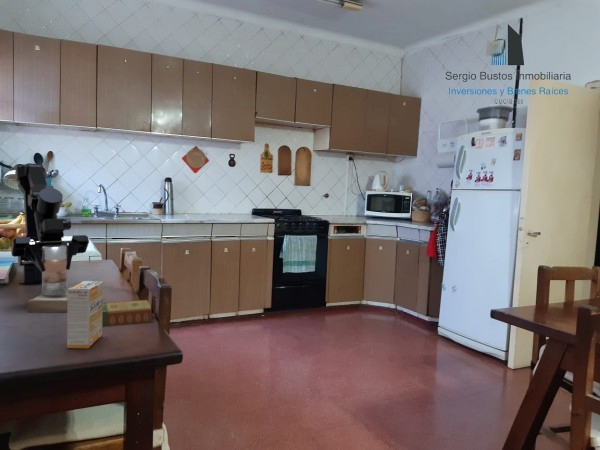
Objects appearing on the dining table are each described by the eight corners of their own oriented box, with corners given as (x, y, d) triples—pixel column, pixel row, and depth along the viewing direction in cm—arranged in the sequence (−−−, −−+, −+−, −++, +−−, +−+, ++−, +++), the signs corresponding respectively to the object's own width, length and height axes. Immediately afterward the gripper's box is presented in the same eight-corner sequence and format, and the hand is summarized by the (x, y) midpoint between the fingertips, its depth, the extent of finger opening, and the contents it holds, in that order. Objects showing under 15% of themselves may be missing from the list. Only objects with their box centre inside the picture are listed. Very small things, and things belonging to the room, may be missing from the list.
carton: (151, 323, 115) (151, 307, 115) (82, 329, 108) (82, 312, 108) (147, 314, 122) (147, 298, 122) (82, 319, 115) (82, 303, 115)
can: (53, 288, 127) (53, 243, 126) (72, 291, 126) (72, 245, 124) (36, 293, 121) (36, 246, 120) (55, 296, 120) (55, 248, 118)
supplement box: (89, 349, 95) (90, 289, 94) (66, 348, 95) (66, 288, 93) (103, 336, 103) (104, 280, 102) (82, 335, 103) (82, 280, 102)
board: (42, 302, 128) (42, 291, 127) (79, 302, 129) (79, 291, 129) (27, 312, 118) (27, 300, 118) (68, 312, 120) (68, 300, 119)
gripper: (12, 207, 118) (19, 255, 111) (87, 207, 130) (98, 250, 123) (8, 233, 125) (14, 279, 118) (80, 231, 137) (89, 273, 130)
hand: (55, 270), depth 122 cm, fingers closed on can, 6 cm apart
